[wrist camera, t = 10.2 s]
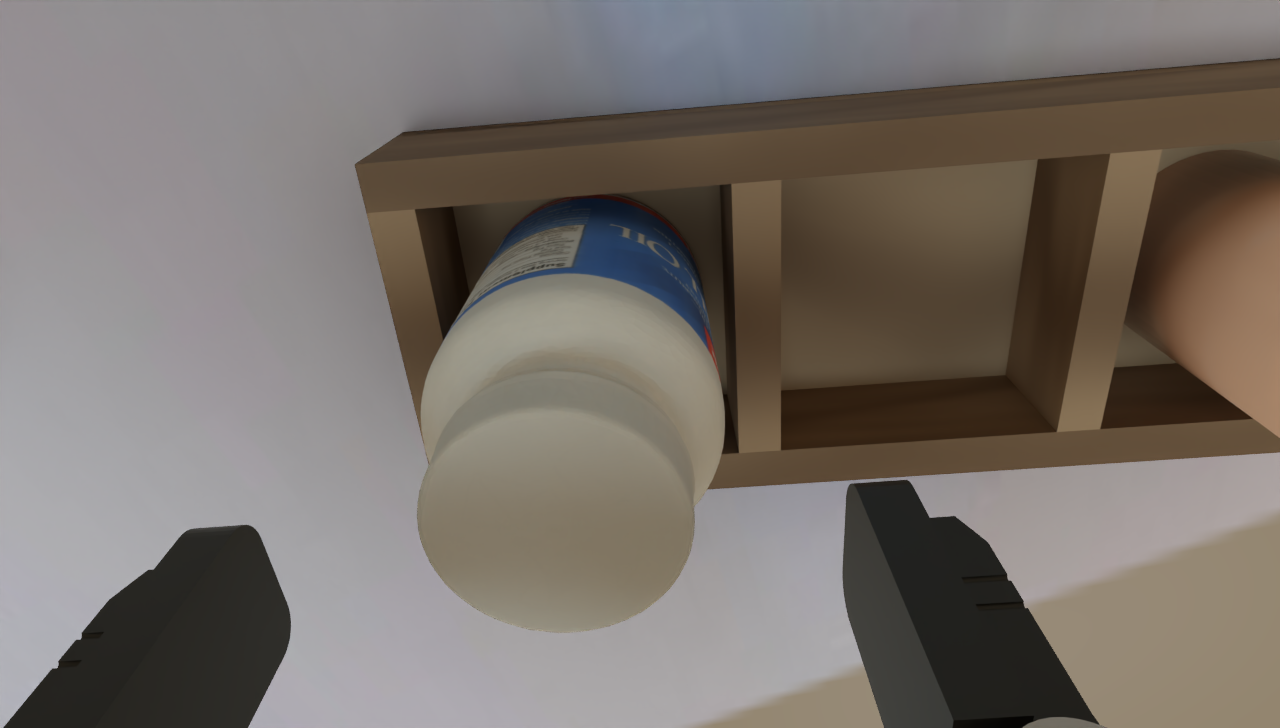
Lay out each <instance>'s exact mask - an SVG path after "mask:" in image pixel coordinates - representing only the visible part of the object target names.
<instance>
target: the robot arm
mask: <svg viewBox="0 0 1280 728" xmlns="http://www.w3.org/2000/svg"><path fill="white" fill-rule="evenodd" d="M843 589H844V597H845V603H846V608H847V613H848V617H849V621H850V624H851V627H852V630H853V633H854V636H855V639H856V642H857V645H858V648H859V652H860V655H861V658H862V661H863V664H864V667H865V670H866V673H867V676H868V679H869V682H870V685H871V688H872V692H873V695H874V697H875V701H876V704H877V707H878V710H879V713H880V716H881V719H882V722H883V725H884V728H1106V727H1104V726H1100V725H1099V723H1098V722H1097V720H1096V719H1095V717H1094V716H1093V715H1092V713H1091V711H1090V710H1089V708H1088V706H1087V705H1086V703H1085V702H1084V700H1083V698H1082V697H1081V695H1080V693H1079V692H1078V691H1077V688H1076V687H1075V685H1074V683H1073V682H1072V680H1071V679H1070V677H1069V675H1068V674H1067V672H1066V670H1065V669H1064V667H1063V665H1062V664H1061V662H1060V661H1059V659H1058V658H1057V655H1056V654H1055V652H1054V651H1053V649H1052V647H1051V646H1050V644H1049V642H1048V641H1047V639H1046V637H1045V636H1044V634H1043V632H1042V631H1041V629H1040V628H1039V626H1038V624H1037V623H1036V621H1035V620H1034V618H1033V616H1032V614H1031V613H1030V611H1029V609H1028V608H1025V607H1024V603H1023V602H1024V601H1023V599H1022V598H1021V596H1020V595H1019V593H1018V591H1017V590H1016V588H1015V586H1014V585H1013V583H1012V581H1008V578H1007V573H1006V572H1005V570H1004V568H1003V567H1002V565H1001V563H1000V562H999V560H998V558H997V557H996V555H995V553H994V552H993V550H992V548H991V547H990V545H989V544H988V542H987V541H985V540H984V539H983V538H982V537H980V536H979V535H978V534H977V533H975V532H974V531H973V530H972V529H970V528H969V527H968V526H966V525H965V524H964V523H963V522H961V521H960V520H959V519H958V518H956V517H955V516H951V517H937V518H929V516H928V514H927V512H926V510H925V508H924V506H923V504H922V502H921V501H920V499H919V497H918V495H917V493H916V491H915V489H914V487H913V486H912V484H911V483H910V482H909V481H908V480H898V481H884V482H870V483H856V484H850V485H849V487H848V490H847V496H846V513H845V534H844V554H843ZM290 631H291V619H290V612H289V608H288V605H287V602H286V600H285V597H284V595H283V592H282V590H281V587H280V585H279V582H278V580H277V577H276V575H275V572H274V570H273V567H272V565H271V562H270V560H269V557H268V555H267V552H266V550H265V547H264V545H263V542H262V540H261V537H260V535H259V533H258V532H257V531H256V530H255V529H254V528H253V527H251V526H249V525H238V526H224V527H210V528H196V529H190V530H188V531H186V532H185V533H183V534H182V535H181V536H180V537H179V539H178V540H177V541H176V542H175V544H174V545H173V546H172V547H171V549H170V550H169V551H168V553H167V554H166V555H165V556H164V558H163V559H162V560H161V561H160V563H159V564H158V565H157V566H156V568H155V569H154V570H148V571H146V572H145V573H144V574H142V575H141V576H140V577H138V578H137V579H136V580H135V581H133V582H132V583H131V584H129V585H128V586H127V587H125V588H124V589H123V590H121V591H120V592H119V593H117V594H116V595H115V596H114V597H112V598H111V599H110V600H109V601H108V602H107V603H106V604H105V606H104V607H103V608H102V609H101V610H100V612H99V613H98V614H97V615H96V616H95V618H94V619H93V620H92V621H91V622H90V624H89V625H88V626H87V627H86V629H85V630H84V631H83V632H82V638H81V640H76V641H75V642H74V643H73V644H72V645H71V647H70V648H69V649H68V650H67V651H66V653H65V654H64V655H63V656H62V657H61V659H60V660H59V661H58V662H59V666H58V668H57V669H52V670H51V671H50V672H49V673H48V674H47V676H46V677H45V678H44V679H43V680H42V682H41V683H40V684H39V685H38V686H37V688H36V689H35V690H34V691H33V693H32V694H31V695H30V696H29V697H28V699H27V700H26V701H25V702H24V703H23V705H22V706H21V707H20V708H19V709H18V711H17V712H16V713H15V714H14V715H13V717H12V718H11V719H10V720H9V722H8V723H7V724H6V725H5V726H4V728H248V726H249V724H250V722H251V721H252V719H253V717H254V715H255V713H256V711H257V709H258V707H259V705H260V703H261V701H262V699H263V697H264V695H265V693H266V691H267V689H268V687H269V685H270V683H271V681H272V679H273V677H274V675H275V673H276V671H277V669H278V667H279V665H280V663H281V661H282V659H283V657H284V655H285V653H286V650H287V647H288V643H289V639H290Z"/></svg>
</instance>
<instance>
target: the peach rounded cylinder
mask: <svg viewBox="0 0 1280 728" xmlns="http://www.w3.org/2000/svg"><path fill="white" fill-rule="evenodd" d="M1124 324H1125V325H1126V326H1127V327H1129V328H1130V329H1131V330H1133V331H1134V332H1135V333H1137V334H1138V335H1140V336H1141V337H1142V338H1144V339H1145V340H1146V341H1148V342H1149V343H1151V344H1152V345H1153V346H1155V347H1156V348H1157V349H1159V350H1160V351H1161V352H1163V353H1164V354H1166V355H1167V356H1168V357H1170V358H1171V359H1172V360H1174V361H1175V362H1176V363H1178V364H1179V365H1181V366H1182V367H1183V368H1185V369H1186V370H1187V371H1189V372H1190V373H1192V374H1193V375H1194V376H1196V377H1197V378H1198V379H1200V380H1201V381H1202V382H1204V383H1205V384H1207V385H1208V386H1209V387H1211V388H1212V389H1213V390H1215V391H1216V392H1218V393H1219V394H1220V395H1222V396H1223V397H1224V398H1226V399H1227V400H1228V401H1230V402H1231V403H1233V404H1234V405H1235V406H1237V407H1238V408H1239V409H1241V410H1242V411H1244V412H1245V413H1246V414H1248V415H1249V416H1250V417H1252V418H1253V419H1254V420H1256V421H1257V422H1259V423H1260V424H1261V425H1263V426H1264V427H1265V428H1267V429H1268V430H1270V431H1271V432H1272V433H1274V434H1275V435H1276V436H1278V437H1279V438H1280V160H1277V159H1274V158H1270V157H1267V156H1263V155H1260V154H1256V153H1253V152H1249V151H1243V150H1216V151H1210V152H1205V153H1201V154H1197V155H1194V156H1191V157H1188V158H1186V159H1183V160H1180V161H1178V162H1176V163H1174V164H1172V165H1170V166H1168V167H1166V168H1165V169H1163V170H1162V171H1160V172H1158V173H1157V175H1156V180H1155V184H1154V189H1153V193H1152V198H1151V202H1150V207H1149V211H1148V216H1147V220H1146V225H1145V229H1144V234H1143V238H1142V243H1141V247H1140V252H1139V256H1138V261H1137V265H1136V270H1135V274H1134V279H1133V283H1132V288H1131V292H1130V297H1129V302H1128V306H1127V311H1126V315H1125V320H1124Z"/></svg>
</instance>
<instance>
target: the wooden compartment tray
mask: <svg viewBox="0 0 1280 728" xmlns="http://www.w3.org/2000/svg"><path fill="white" fill-rule="evenodd" d="M1216 150H1243V151H1249V152H1253V153H1256V154H1260V155H1263V156H1267V157H1270V158H1274V159H1277V160H1280V58H1278V59H1266V60H1255V61H1243V62H1231V63H1219V64H1207V65H1195V66H1183V67H1172V68H1160V69H1148V70H1136V71H1124V72H1112V73H1100V74H1088V75H1077V76H1065V77H1053V78H1041V79H1029V80H1017V81H1005V82H994V83H982V84H970V85H958V86H946V87H934V88H922V89H911V90H899V91H887V92H875V93H863V94H851V95H839V96H828V97H816V98H804V99H792V100H780V101H768V102H756V103H745V104H733V105H721V106H709V107H697V108H685V109H673V110H661V111H650V112H638V113H626V114H614V115H602V116H590V117H578V118H567V119H555V120H543V121H531V122H519V123H507V124H495V125H484V126H472V127H460V128H448V129H436V130H424V131H412V132H403V133H401V134H400V135H398V136H397V137H395V138H394V139H392V140H391V141H389V142H388V143H386V144H385V145H383V146H382V147H380V148H379V149H377V150H376V151H374V152H373V153H371V154H370V155H368V156H367V157H365V158H363V159H362V160H360V161H359V162H357V163H356V164H355V168H356V172H357V176H358V180H359V184H360V188H361V192H362V196H363V200H364V204H365V208H366V212H367V216H368V220H369V224H370V228H371V233H372V237H373V241H374V245H375V249H376V253H377V257H378V261H379V265H380V269H381V273H382V277H383V281H384V285H385V289H386V293H387V297H388V301H389V305H390V309H391V313H392V318H393V322H394V326H395V330H396V334H397V338H398V342H399V346H400V350H401V354H402V358H403V362H404V366H405V370H406V374H407V378H408V382H409V386H410V390H411V394H412V399H413V403H414V407H415V411H416V415H417V419H418V423H419V427H420V431H421V435H422V428H421V401H422V394H423V389H424V385H425V380H426V377H427V374H428V371H429V369H430V366H431V364H432V362H433V360H434V358H435V356H436V354H437V352H438V350H439V348H440V346H441V344H442V342H443V341H444V339H445V337H446V335H447V333H448V331H449V330H450V328H451V326H452V324H453V323H454V322H455V320H456V318H457V317H458V315H459V313H460V311H461V310H462V308H463V306H464V304H465V303H466V301H467V299H468V298H469V296H470V294H471V292H472V291H473V289H474V287H475V286H476V284H477V282H478V280H479V279H480V277H481V275H482V274H483V272H484V270H485V268H486V267H487V265H488V263H489V261H490V259H491V258H492V256H493V254H494V253H495V251H496V250H497V248H498V247H499V245H500V243H501V242H502V240H503V239H504V237H505V236H506V235H507V234H508V232H509V231H510V230H511V229H512V228H513V227H514V226H515V225H516V224H517V223H518V222H519V221H520V220H521V219H523V218H524V217H525V216H526V215H527V214H529V213H531V212H532V211H534V210H535V209H537V208H539V207H540V206H542V205H544V204H546V203H549V202H551V201H554V200H557V199H560V198H563V197H575V196H587V195H600V194H611V195H617V196H620V197H624V198H628V199H631V200H633V201H636V202H639V203H641V204H643V205H645V206H647V207H649V208H650V209H652V210H654V211H655V212H657V213H658V214H660V215H661V216H662V217H663V218H665V219H666V220H667V221H668V222H669V223H670V224H671V225H672V226H673V227H674V228H675V229H676V230H677V231H678V233H679V234H680V235H681V236H682V238H683V239H684V240H685V242H686V244H687V245H688V247H689V249H690V251H691V253H692V255H693V257H694V259H695V262H696V264H697V267H698V270H699V273H700V277H701V281H702V286H703V292H704V297H705V303H706V308H707V313H708V319H709V324H710V329H711V335H712V341H713V346H714V351H715V356H716V361H717V366H718V372H719V376H720V381H721V387H722V394H723V401H724V410H725V434H724V444H723V450H722V454H721V458H720V462H719V465H718V467H717V470H716V473H715V475H714V477H713V480H712V481H711V483H710V485H709V487H708V489H720V488H735V487H751V486H766V485H782V484H797V483H813V482H828V481H844V480H859V479H875V478H890V477H905V476H921V475H936V474H952V473H967V472H983V471H998V470H1014V469H1029V468H1045V467H1060V466H1076V465H1091V464H1106V463H1122V462H1137V461H1153V460H1168V459H1184V458H1199V457H1215V456H1230V455H1246V454H1261V453H1277V452H1280V438H1279V437H1278V436H1276V435H1275V434H1274V433H1272V432H1271V431H1270V430H1268V429H1267V428H1265V427H1264V426H1263V425H1261V424H1260V423H1259V422H1257V421H1256V420H1254V419H1253V418H1252V417H1250V416H1249V415H1248V414H1246V413H1245V412H1244V411H1242V410H1241V409H1239V408H1238V407H1237V406H1235V405H1234V404H1233V403H1231V402H1230V401H1228V400H1227V399H1226V398H1224V397H1223V396H1222V395H1220V394H1219V393H1218V392H1216V391H1215V390H1213V389H1212V388H1211V387H1209V386H1208V385H1207V384H1205V383H1204V382H1202V381H1201V380H1200V379H1198V378H1197V377H1196V376H1194V375H1193V374H1192V373H1190V372H1189V371H1187V370H1186V369H1185V368H1183V367H1182V366H1181V365H1179V364H1178V363H1176V362H1175V361H1174V360H1172V359H1171V358H1170V357H1168V356H1167V355H1166V354H1164V353H1163V352H1161V351H1160V350H1159V349H1157V348H1156V347H1155V346H1153V345H1152V344H1151V343H1149V342H1148V341H1146V340H1145V339H1144V338H1142V337H1141V336H1140V335H1138V334H1137V333H1135V332H1134V331H1133V330H1131V329H1130V328H1129V327H1127V326H1126V325H1125V324H1124V320H1125V315H1126V311H1127V306H1128V302H1129V297H1130V292H1131V288H1132V283H1133V279H1134V274H1135V270H1136V265H1137V261H1138V256H1139V252H1140V247H1141V243H1142V238H1143V234H1144V229H1145V225H1146V220H1147V216H1148V211H1149V207H1150V202H1151V198H1152V193H1153V189H1154V184H1155V180H1156V175H1157V173H1158V172H1160V171H1162V170H1163V169H1165V168H1166V167H1168V166H1170V165H1172V164H1174V163H1176V162H1178V161H1180V160H1183V159H1186V158H1188V157H1191V156H1194V155H1197V154H1201V153H1205V152H1210V151H1216ZM422 439H423V435H422ZM423 443H424V441H423ZM424 447H425V446H424ZM426 455H427V454H426ZM427 459H428V458H427ZM428 463H429V461H428ZM429 464H430V463H429Z"/></svg>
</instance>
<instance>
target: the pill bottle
mask: <svg viewBox="0 0 1280 728" xmlns="http://www.w3.org/2000/svg"><path fill="white" fill-rule="evenodd" d="M421 428H422V435H423V441H424V446H425V451H426V454H427V458H428V461H429V463H430V464H429V466H428V469H427V471H426V474H425V476H424V479H423V482H422V485H421V489H420V492H419V499H418V508H417V521H418V530H419V535H420V539H421V542H422V545H423V548H424V550H425V552H426V555H427V557H428V559H429V561H430V563H431V565H432V566H433V568H434V569H435V571H436V572H437V573H438V575H439V576H440V577H441V579H442V580H443V581H444V583H445V584H446V585H447V586H448V587H449V588H450V589H451V590H452V591H453V592H454V593H456V594H457V595H458V596H459V597H460V598H462V599H463V600H464V601H466V602H467V603H468V604H470V605H471V606H472V607H474V608H476V609H477V610H479V611H481V612H482V613H484V614H486V615H488V616H491V617H493V618H495V619H497V620H500V621H503V622H505V623H508V624H511V625H515V626H518V627H522V628H526V629H529V630H539V631H546V632H558V633H567V632H581V631H588V630H593V629H598V628H603V627H607V626H611V625H613V624H616V623H619V622H621V621H625V620H627V619H629V618H631V617H632V616H634V615H636V614H638V613H640V612H642V611H644V610H645V609H647V608H648V607H650V606H651V605H652V604H653V603H654V602H656V601H657V600H658V599H659V598H661V597H662V596H663V595H664V594H665V593H666V592H667V591H668V590H669V589H670V587H671V586H672V585H673V583H674V582H675V581H676V579H677V578H678V576H679V575H680V573H681V571H682V569H683V567H684V565H685V563H686V561H687V559H688V556H689V554H690V551H691V547H692V542H693V536H694V523H695V520H694V506H695V505H696V504H697V503H698V502H699V501H700V499H701V498H702V496H703V495H704V493H705V492H706V490H707V489H708V487H709V485H710V483H711V481H712V480H713V477H714V475H715V473H716V470H717V467H718V465H719V462H720V458H721V454H722V450H723V444H724V434H725V410H724V401H723V394H722V387H721V381H720V376H719V372H718V366H717V361H716V356H715V351H714V346H713V341H712V335H711V329H710V324H709V319H708V313H707V308H706V303H705V297H704V292H703V286H702V281H701V277H700V273H699V270H698V267H697V264H696V262H695V259H694V257H693V255H692V253H691V251H690V249H689V247H688V245H687V244H686V242H685V240H684V239H683V238H682V236H681V235H680V234H679V233H678V231H677V230H676V229H675V228H674V227H673V226H672V225H671V224H670V223H669V222H668V221H667V220H666V219H665V218H663V217H662V216H661V215H660V214H658V213H657V212H655V211H654V210H652V209H650V208H649V207H647V206H645V205H643V204H641V203H639V202H636V201H633V200H631V199H628V198H624V197H620V196H617V195H611V194H600V195H587V196H575V197H563V198H560V199H557V200H554V201H551V202H549V203H546V204H544V205H542V206H540V207H539V208H537V209H535V210H534V211H532V212H531V213H529V214H527V215H526V216H525V217H524V218H523V219H521V220H520V221H519V222H518V223H517V224H516V225H515V226H514V227H513V228H512V229H511V230H510V231H509V232H508V234H507V235H506V236H505V237H504V239H503V240H502V242H501V243H500V245H499V247H498V248H497V250H496V251H495V253H494V254H493V256H492V258H491V259H490V261H489V263H488V265H487V267H486V268H485V270H484V272H483V274H482V275H481V277H480V279H479V280H478V282H477V284H476V286H475V287H474V289H473V291H472V292H471V294H470V296H469V298H468V299H467V301H466V303H465V304H464V306H463V308H462V310H461V311H460V313H459V315H458V317H457V318H456V320H455V322H454V323H453V324H452V326H451V328H450V330H449V331H448V333H447V335H446V337H445V339H444V341H443V342H442V344H441V346H440V348H439V350H438V352H437V354H436V356H435V358H434V360H433V362H432V364H431V366H430V369H429V371H428V374H427V377H426V380H425V385H424V389H423V394H422V401H421Z"/></svg>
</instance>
